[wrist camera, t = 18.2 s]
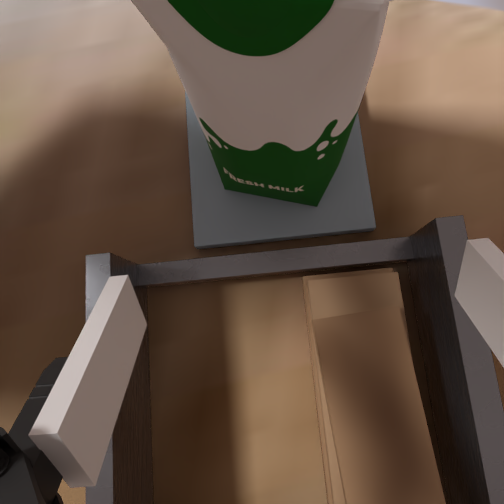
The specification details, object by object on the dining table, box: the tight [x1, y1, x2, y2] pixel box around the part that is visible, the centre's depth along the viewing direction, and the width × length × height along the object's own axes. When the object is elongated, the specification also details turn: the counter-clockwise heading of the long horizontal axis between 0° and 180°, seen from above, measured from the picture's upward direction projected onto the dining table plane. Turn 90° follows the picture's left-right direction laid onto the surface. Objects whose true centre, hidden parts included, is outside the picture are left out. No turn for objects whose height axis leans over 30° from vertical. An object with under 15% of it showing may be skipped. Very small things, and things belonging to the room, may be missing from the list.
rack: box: [86, 215, 504, 504], centre depth 23 cm, size 22×20×6 cm
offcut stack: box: [302, 268, 446, 504], centre depth 23 cm, size 6×16×5 cm, turn 5°
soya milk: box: [131, 0, 392, 207], centre depth 18 cm, size 9×9×20 cm
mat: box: [185, 91, 376, 249], centre depth 29 cm, size 13×13×1 cm
